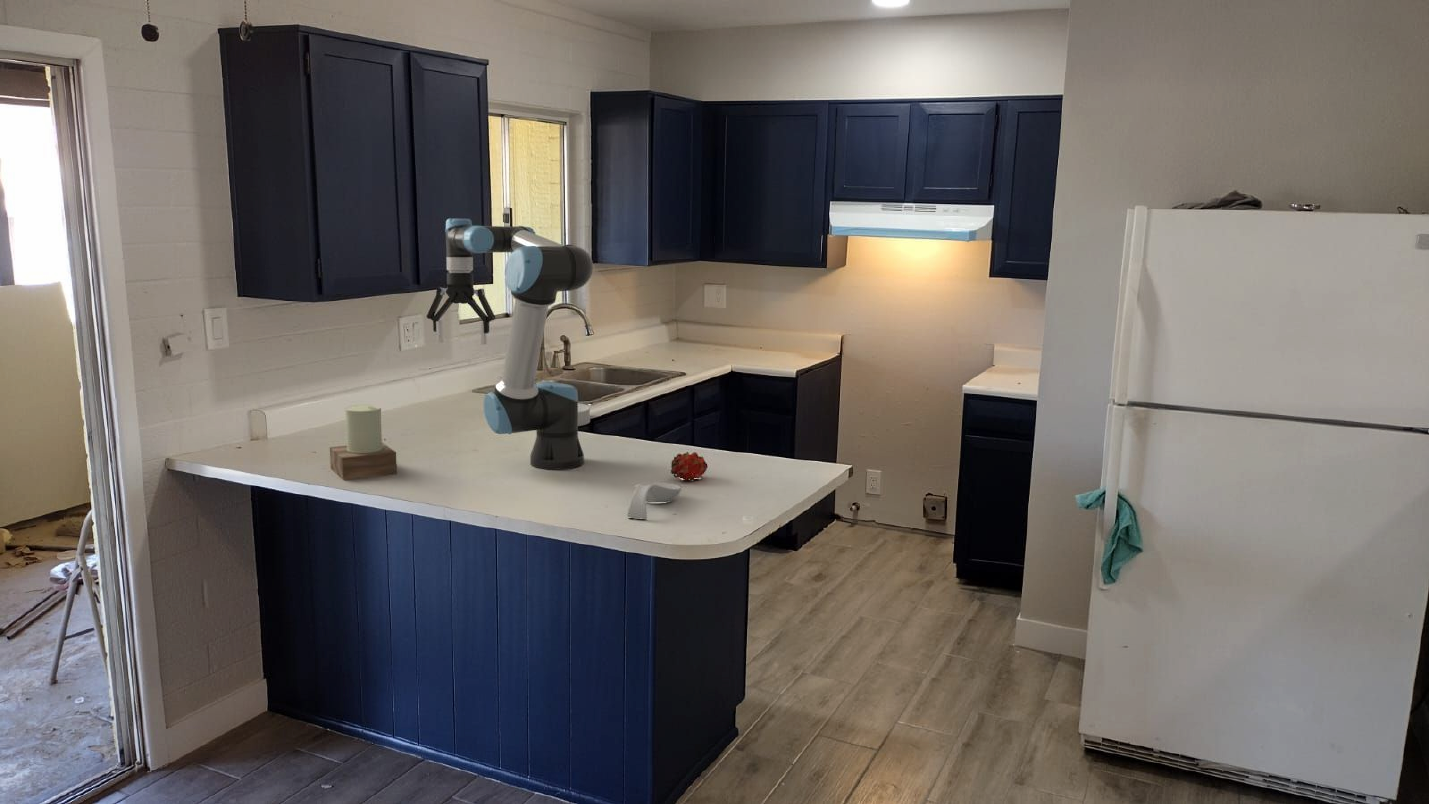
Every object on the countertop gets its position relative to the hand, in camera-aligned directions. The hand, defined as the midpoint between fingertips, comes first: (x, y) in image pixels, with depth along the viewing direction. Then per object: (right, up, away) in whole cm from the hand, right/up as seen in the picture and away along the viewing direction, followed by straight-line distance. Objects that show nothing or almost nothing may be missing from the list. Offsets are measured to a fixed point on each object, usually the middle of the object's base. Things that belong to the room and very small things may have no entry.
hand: (461, 343), depth 303 cm
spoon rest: (+60, -44, -52) cm, 91 cm away
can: (-20, -30, -27) cm, 45 cm away
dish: (+21, -24, +47) cm, 57 cm away
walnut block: (-20, -36, -26) cm, 49 cm away
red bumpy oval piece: (+68, -39, -26) cm, 83 cm away
